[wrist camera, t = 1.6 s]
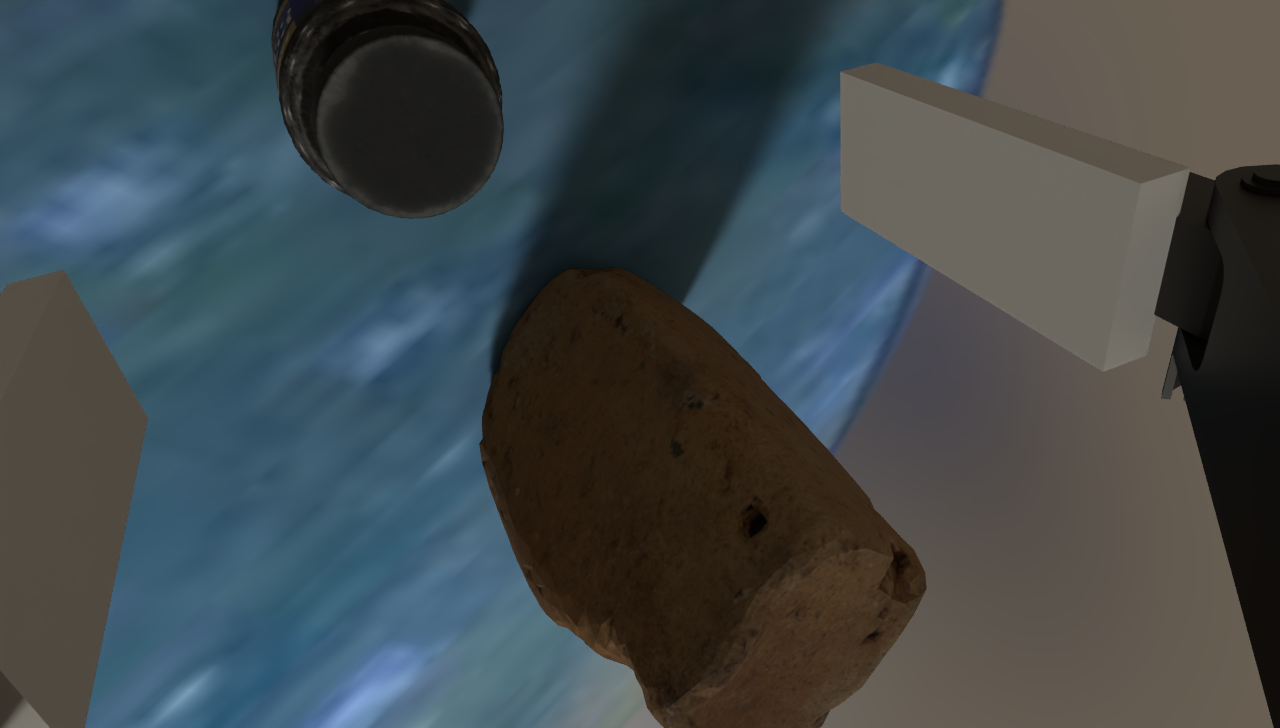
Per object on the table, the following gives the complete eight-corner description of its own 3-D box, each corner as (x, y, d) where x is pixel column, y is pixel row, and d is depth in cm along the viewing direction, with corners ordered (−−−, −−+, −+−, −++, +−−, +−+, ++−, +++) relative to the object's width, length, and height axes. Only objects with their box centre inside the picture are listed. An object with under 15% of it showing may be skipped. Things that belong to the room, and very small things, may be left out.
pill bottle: (240, -18, 28) (236, 34, 19) (421, -62, 29) (496, -31, 20) (313, 160, 31) (338, 275, 22) (472, 114, 33) (555, 205, 24)
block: (581, 222, 36) (842, 501, 20) (697, 304, 41) (989, 588, 25) (437, 416, 38) (573, 812, 22) (562, 475, 43) (753, 843, 27)
